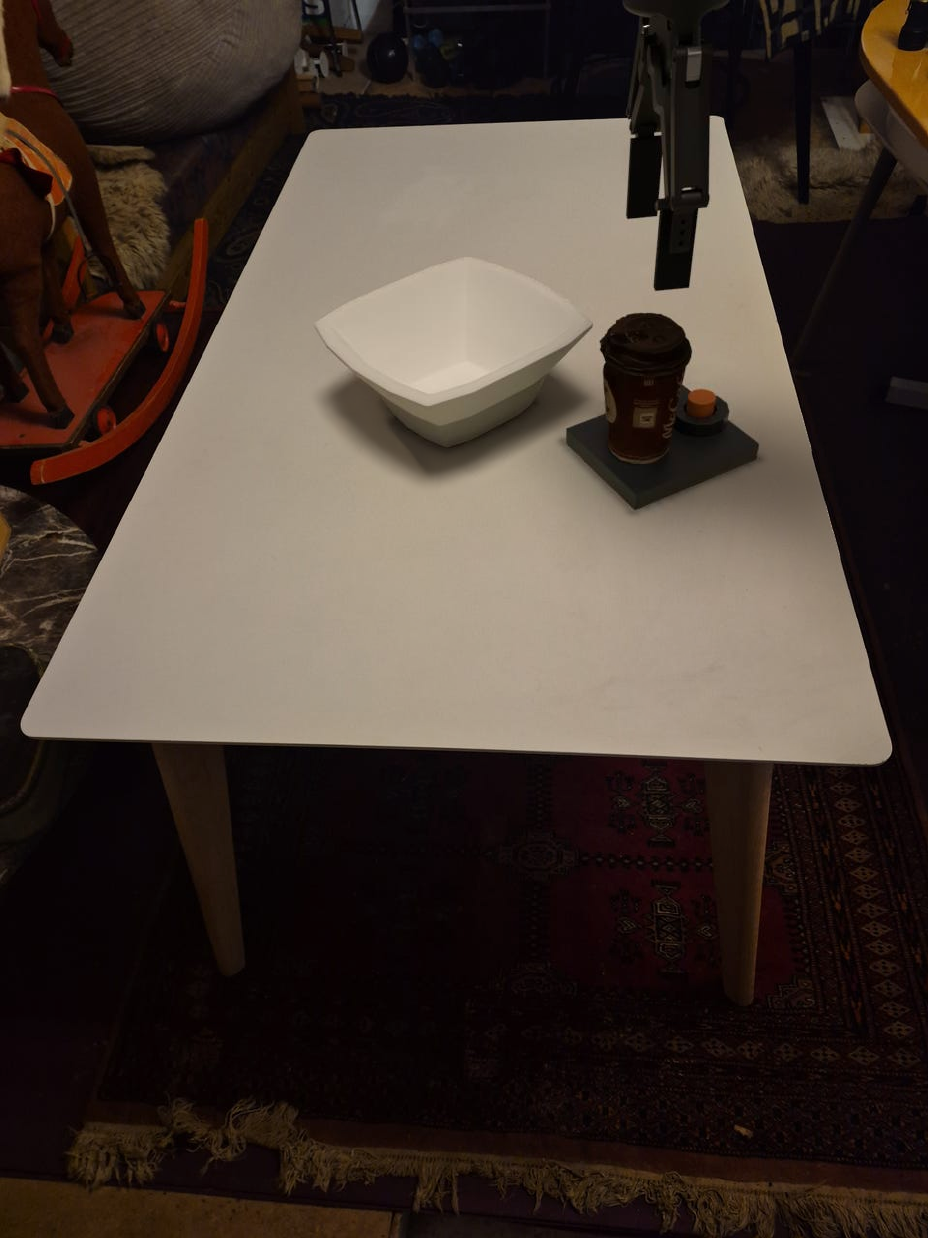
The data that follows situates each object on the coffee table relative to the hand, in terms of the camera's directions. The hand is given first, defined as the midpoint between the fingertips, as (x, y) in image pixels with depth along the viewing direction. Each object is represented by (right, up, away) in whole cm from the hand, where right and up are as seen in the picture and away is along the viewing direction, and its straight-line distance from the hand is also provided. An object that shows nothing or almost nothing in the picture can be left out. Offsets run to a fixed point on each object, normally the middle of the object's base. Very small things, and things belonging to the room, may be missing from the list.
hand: (655, 249), depth 73 cm
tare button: (+8, -10, +17) cm, 21 cm away
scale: (+4, -14, +18) cm, 23 cm away
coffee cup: (+2, -14, +16) cm, 21 cm away
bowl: (-17, -6, +27) cm, 32 cm away
